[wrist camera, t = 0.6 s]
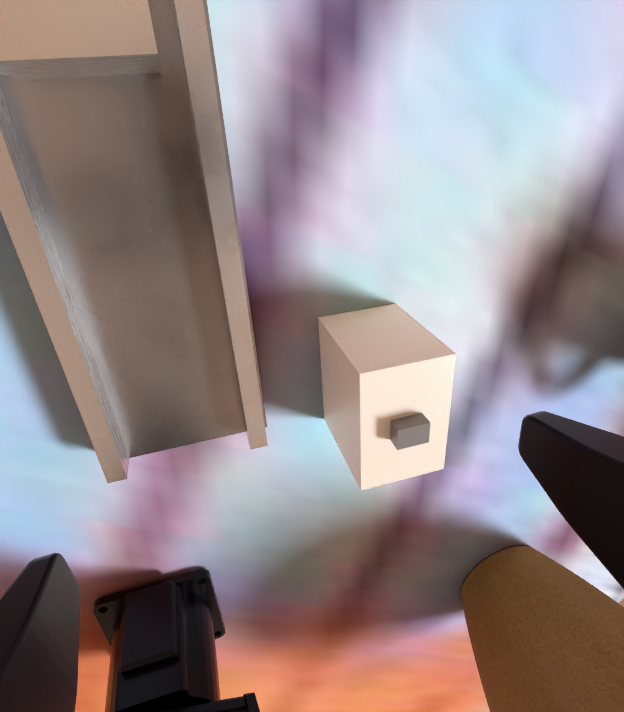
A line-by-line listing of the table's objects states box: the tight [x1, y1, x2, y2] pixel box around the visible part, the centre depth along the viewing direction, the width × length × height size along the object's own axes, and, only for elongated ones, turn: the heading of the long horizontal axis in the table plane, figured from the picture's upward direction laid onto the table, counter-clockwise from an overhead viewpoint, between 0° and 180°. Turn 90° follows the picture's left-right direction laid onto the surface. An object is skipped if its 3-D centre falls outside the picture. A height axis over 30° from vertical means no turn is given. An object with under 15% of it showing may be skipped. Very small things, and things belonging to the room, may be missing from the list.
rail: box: [0, 0, 267, 483], centre depth 14 cm, size 20×8×7 cm, turn 4°
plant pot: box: [461, 546, 624, 712], centre depth 30 cm, size 15×15×16 cm
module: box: [318, 304, 456, 491], centre depth 21 cm, size 6×4×6 cm, turn 4°
